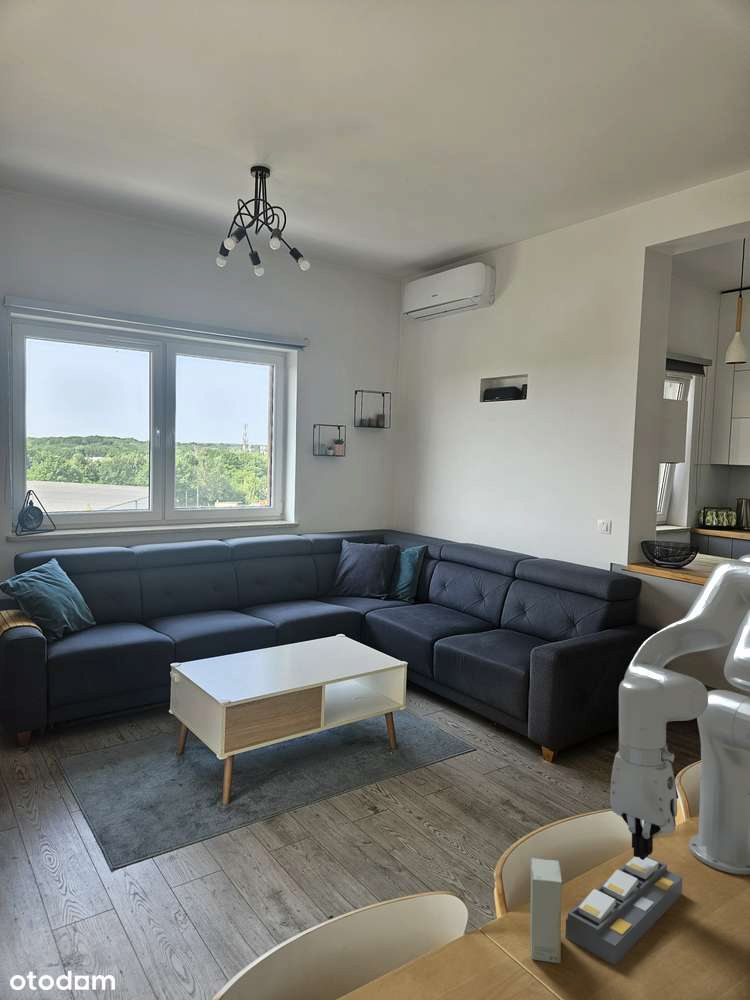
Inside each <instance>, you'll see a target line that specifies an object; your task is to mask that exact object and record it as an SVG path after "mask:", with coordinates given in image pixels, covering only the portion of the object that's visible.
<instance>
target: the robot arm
mask: <svg viewBox="0 0 750 1000" xmlns="http://www.w3.org/2000/svg"><path fill="white" fill-rule="evenodd" d="M733 639H734V640H733ZM732 641H733V643H732V644H731V647H730V650H729V652H728V654H727V658H726V661H725V663H724V668H723V674H724V677H725V679H726V681H727V682H728V684H731V685H732V686H733V687H735V688H738V689H740V690H742V691H746V692H749V693H750V553H748V554H745V555H741V556H740V557H739V558H738V559H735V560H734V559H730V560H725V561H722V562H719V563H718V564H717V565H716V566H715V567H714V568H713V569H712V571H711V573H710V574H709V576H708V578H707V580H706V581H705V583H704V584H703V586H702V588H701V590H700V591H699V593H698V595H697V596H696V597H695V600H694V601H693V604H692V605H691V607H690V608H689V610H688V612H687V613H686V615H685V616H684V617H683V618H680V619H679V620H677V621H675V622H673V623H671V624H668V625H667V626H665V627H664V628H662V629H661V630H659V631H657V632H656V633H653V634H652V635H650V636H649V637H648V638H647V639H645V641H643V643H642V644H641V645H640V647H639V648H638V649H637V651H636V653H635V654H634V656H633V658H632V660H631V661H630V663H629V665H628V666H627V669H626V671H625V673H624V678H623V679H622V681H620V683H619V687H618V751H617V752H616V753H615V756H614V760H613V764H612V770H611V771H612V772H611V779H610V792H609V793H610V795H609V796H610V803H611V808H610V810H611V811H612V812H613V813H614V814H616V815H617V816H619V817H621V818H622V819H623V821H624V823H626V825H627V826H628V827H627V828H628V830H629V832H630V833H631V848H632V849H633V857H639V858H640V859H642V860H644V859H645V858H646V857H647V856H648V857H649V855H650V856H651V854H652V853H653V851H654V847H653V846H654V845H653V844H654V841H653V839H654V835H656V834H658V833H663V834H672V833H674V832H675V831H676V827H675V822H674V819H675V818H677V815H678V801H677V800H678V799H677V798H678V797H677V787H676V781H675V775H674V769H673V765H672V763H673V762H674V760H675V754H674V753H671V752H670V751H668V745H667V723H668V722H675V721H676V722H677V721H678V722H679V721H680V722H682V721H691V720H694V719H696V720H697V727H698V732H699V738H700V740H699V741H700V759H701V760H700V781H699V783H700V784H699V808H698V810H699V814H698V817H699V818H698V833H697V834H694V835H692V836H691V837H690V839H689V842H688V843H689V847H688V848H689V850H690V852H691V853H692V854H693V856H694V857H695V858H697V860H699V861H701V862H702V863H703V864H705V865H707V866H709V867H711V868H714V869H715V870H718V871H721V872H726V873H728V874H729V873H730V874H735V875H750V696H747V695H743V694H741V693H736V692H733V691H729V690H725V689H723V690H722V689H714V690H709V691H708V689H707V688H706V686H705V685H704V684H703V683H702V682H701V681H700V680H698V679H697V678H694V677H692V676H689V675H686V674H683V673H679V672H676V671H674V670H670V669H666V668H665V666H666V665H667V664H668V663H670V662H671V661H672V660H674V659H676V658H678V657H680V656H683V655H685V654H690V653H695V652H701V651H707V650H712V649H713V650H714V649H718V648H723V647H726V646H728V645H729V644H730V643H731V642H732Z"/></svg>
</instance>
